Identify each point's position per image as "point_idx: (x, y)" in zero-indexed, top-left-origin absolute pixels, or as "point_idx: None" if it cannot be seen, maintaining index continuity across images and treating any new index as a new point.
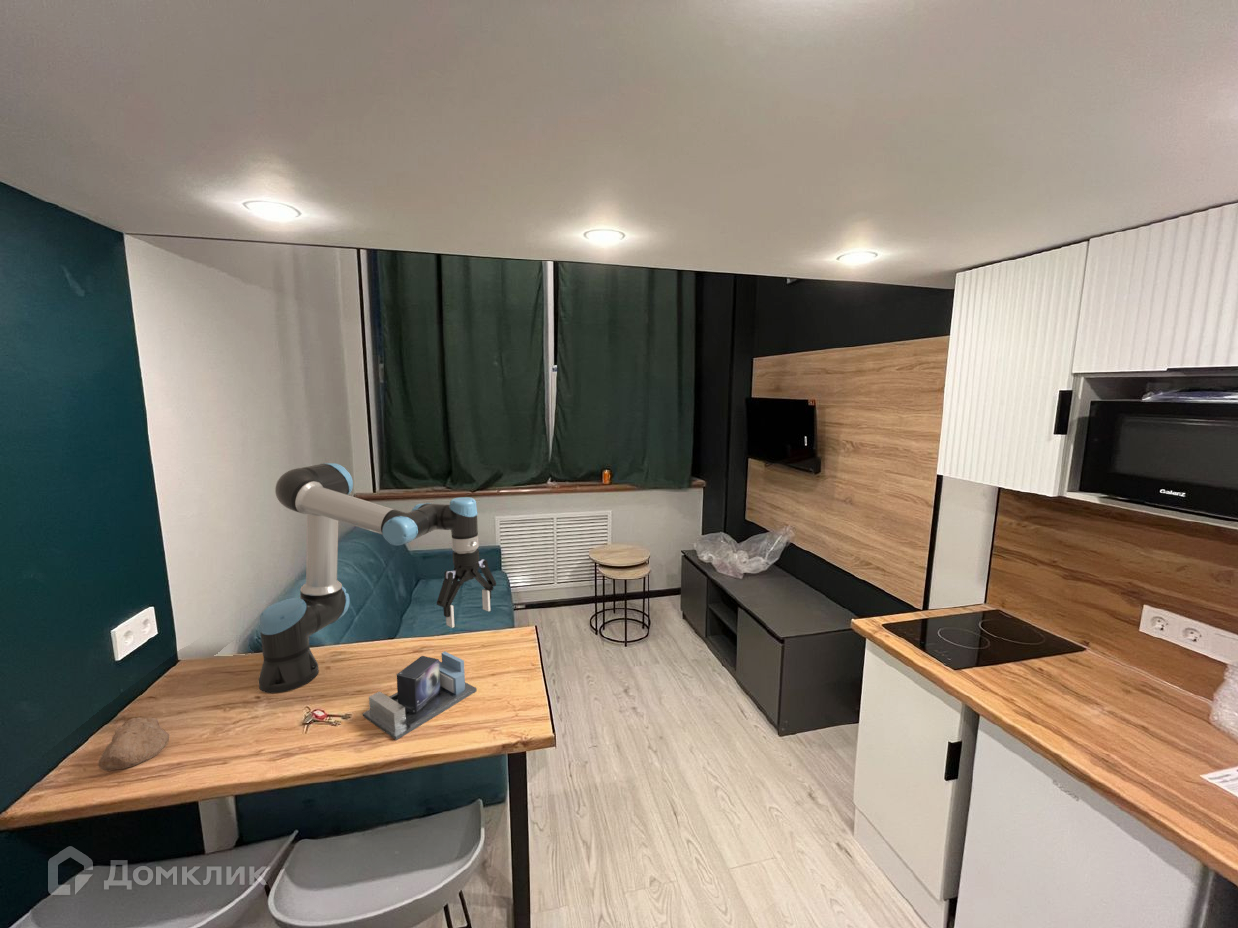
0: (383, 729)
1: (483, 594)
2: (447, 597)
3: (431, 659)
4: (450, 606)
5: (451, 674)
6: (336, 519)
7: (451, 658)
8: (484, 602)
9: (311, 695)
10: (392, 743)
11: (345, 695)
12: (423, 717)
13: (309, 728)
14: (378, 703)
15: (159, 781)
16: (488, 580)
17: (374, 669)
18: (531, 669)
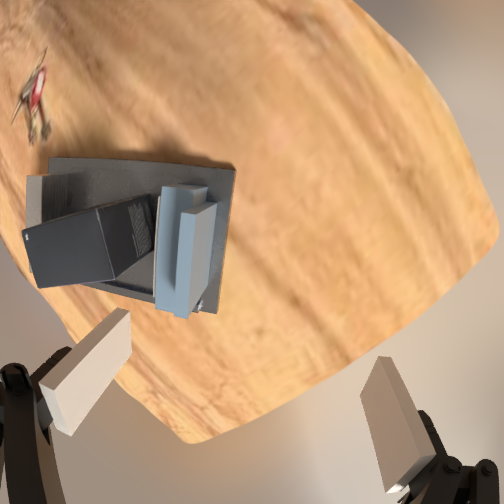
0: None
1: (400, 440)
2: (3, 462)
3: (98, 259)
4: (55, 423)
5: (161, 285)
6: None
7: (176, 271)
8: (383, 403)
9: (68, 20)
10: None
11: (81, 60)
12: (87, 285)
13: (17, 115)
14: (26, 215)
15: None
16: (473, 502)
17: (172, 9)
18: (348, 363)
